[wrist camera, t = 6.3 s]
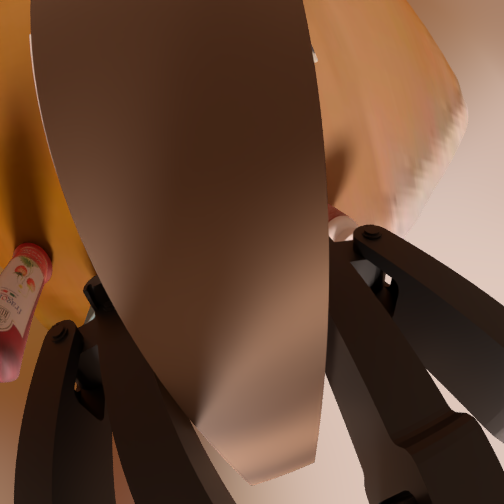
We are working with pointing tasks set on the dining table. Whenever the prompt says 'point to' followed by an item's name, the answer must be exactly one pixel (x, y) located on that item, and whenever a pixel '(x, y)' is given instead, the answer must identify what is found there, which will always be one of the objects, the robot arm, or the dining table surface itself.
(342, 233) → the pill bottle
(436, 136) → the dining table surface
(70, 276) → the dining table surface
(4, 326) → the liquor
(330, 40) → the dining table surface
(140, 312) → the wooden bar
